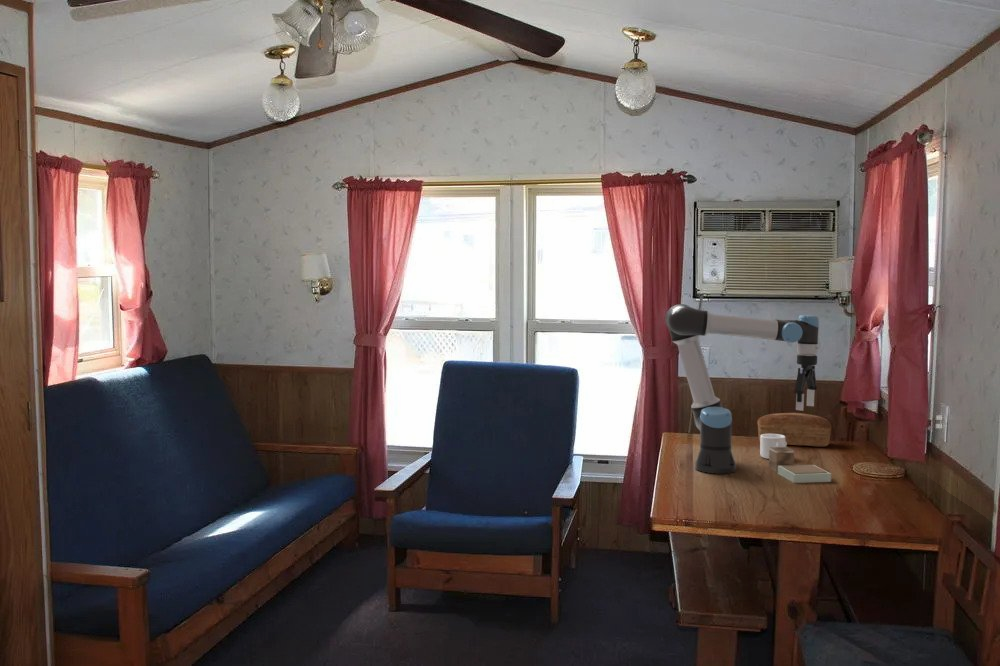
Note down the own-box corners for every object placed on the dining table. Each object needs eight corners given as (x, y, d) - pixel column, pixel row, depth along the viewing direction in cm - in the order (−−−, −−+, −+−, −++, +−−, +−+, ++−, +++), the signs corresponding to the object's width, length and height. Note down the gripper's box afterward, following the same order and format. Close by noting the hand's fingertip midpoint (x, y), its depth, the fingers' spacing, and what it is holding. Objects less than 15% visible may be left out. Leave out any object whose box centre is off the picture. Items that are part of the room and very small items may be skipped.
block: (776, 472, 323) (776, 451, 323) (768, 467, 330) (769, 447, 330) (794, 471, 324) (794, 450, 323) (786, 467, 331) (786, 447, 330)
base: (793, 482, 307) (793, 473, 307) (777, 473, 321) (777, 464, 320) (830, 481, 308) (831, 472, 308) (813, 472, 322) (813, 463, 322)
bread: (757, 439, 386) (758, 409, 385) (830, 443, 375) (831, 413, 374) (756, 444, 374) (756, 414, 373) (831, 449, 364) (831, 417, 363)
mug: (791, 461, 340) (792, 439, 340) (766, 461, 340) (766, 439, 340) (781, 455, 352) (782, 433, 352) (756, 455, 352) (757, 433, 352)
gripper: (807, 357, 322) (804, 413, 324) (826, 352, 342) (823, 405, 344) (787, 356, 326) (785, 410, 328) (807, 351, 346) (805, 403, 348)
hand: (804, 408), depth 336 cm, fingers open, 13 cm apart
